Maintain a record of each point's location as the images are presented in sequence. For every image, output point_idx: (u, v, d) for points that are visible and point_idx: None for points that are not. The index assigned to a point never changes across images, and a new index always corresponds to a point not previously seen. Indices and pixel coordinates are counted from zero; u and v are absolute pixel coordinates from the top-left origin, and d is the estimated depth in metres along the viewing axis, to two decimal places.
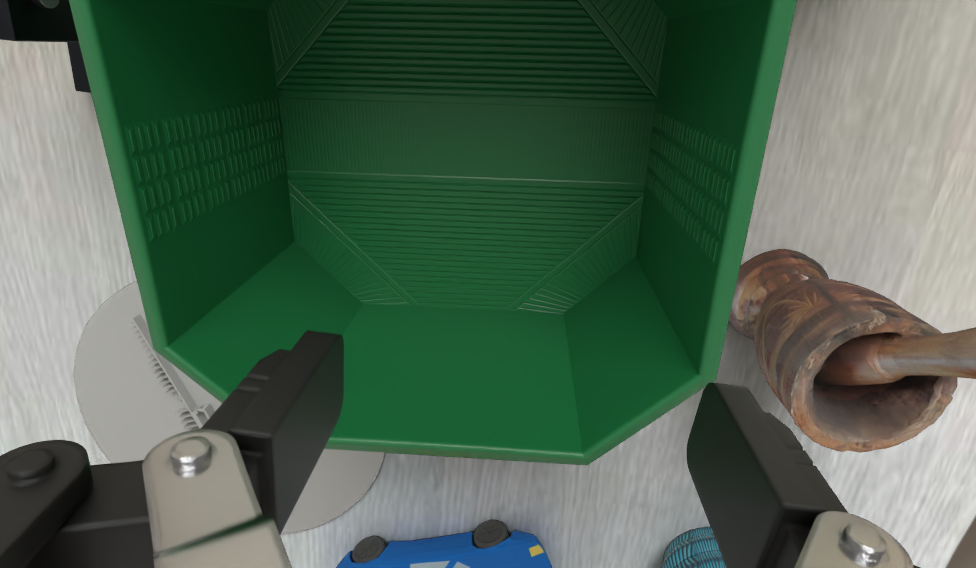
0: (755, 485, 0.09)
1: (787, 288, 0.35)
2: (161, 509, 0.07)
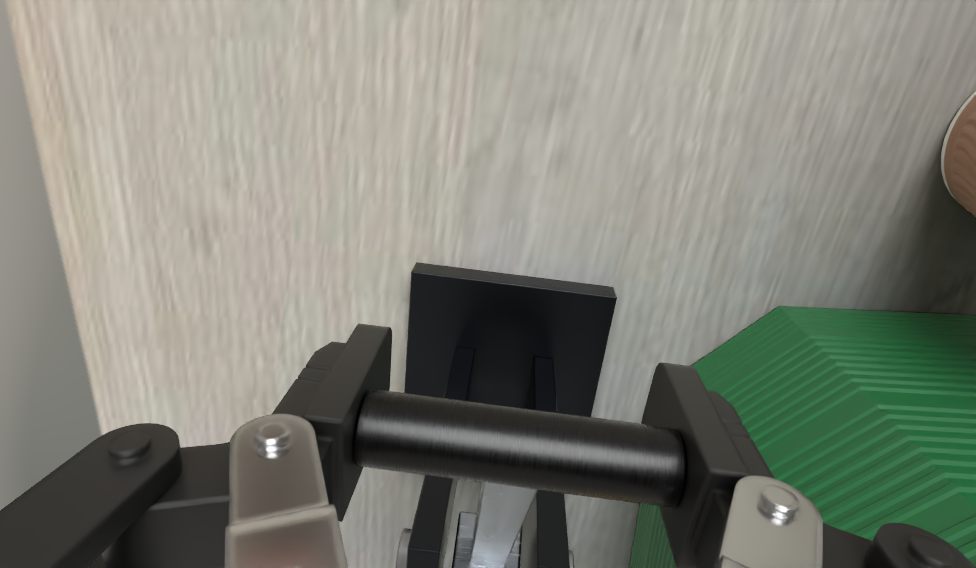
0: (690, 454, 0.10)
1: None
2: (255, 486, 0.07)
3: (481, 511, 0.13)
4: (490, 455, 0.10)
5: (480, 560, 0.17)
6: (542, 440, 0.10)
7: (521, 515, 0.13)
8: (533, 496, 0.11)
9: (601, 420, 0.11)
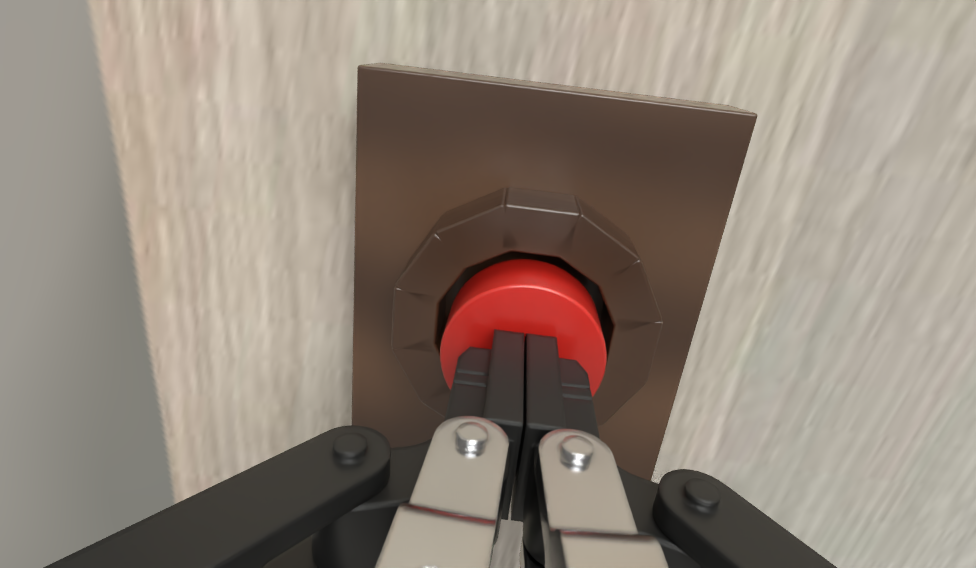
0: (524, 413, 0.10)
1: None
2: (476, 486, 0.08)
3: None
4: None
5: None
6: None
7: None
8: None
9: None
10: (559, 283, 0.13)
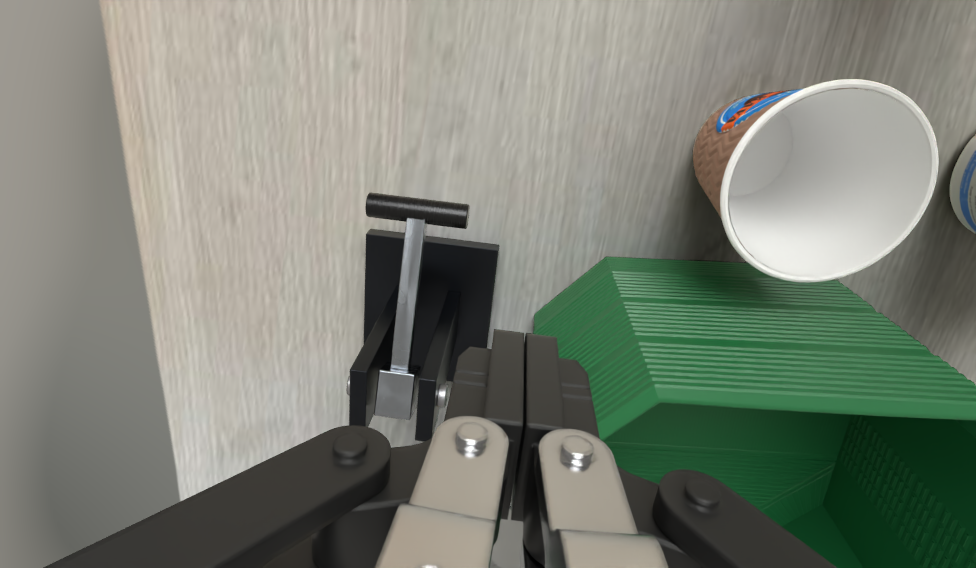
0: (524, 413, 0.10)
1: None
2: (476, 486, 0.08)
3: (403, 258, 0.33)
4: (409, 199, 0.33)
5: (397, 348, 0.33)
6: (425, 200, 0.33)
7: (418, 258, 0.33)
8: (422, 233, 0.33)
9: None
10: None
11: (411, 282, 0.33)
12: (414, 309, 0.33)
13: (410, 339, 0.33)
